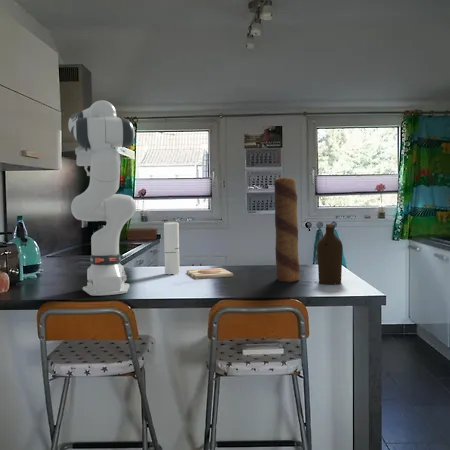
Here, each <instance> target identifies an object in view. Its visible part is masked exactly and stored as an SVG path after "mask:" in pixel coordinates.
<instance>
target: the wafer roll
mask: <svg viewBox="0 0 450 450" xmlns="http://www.w3.org/2000/svg"><path fill="white" fill-rule="evenodd" d="M274 225H275V226H274V227H275V248H274V249H275V266H276V267H275V268H276V280H277V281H278V282H288V283H292V282H297V281H298V280H300V263H299V262H300V261H299V228H298V194H297V181H296V179H295V178H294V177H280V178H278V177H277V178H275V181H274Z"/></svg>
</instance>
